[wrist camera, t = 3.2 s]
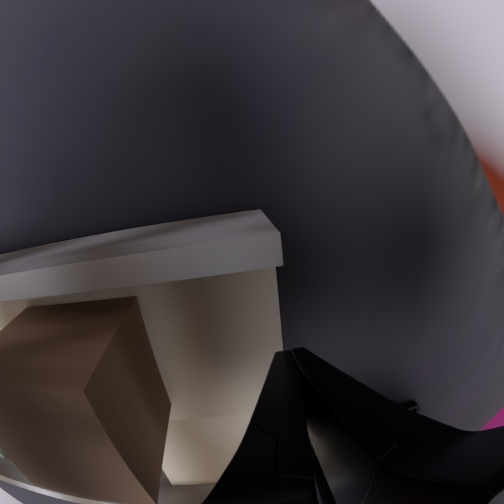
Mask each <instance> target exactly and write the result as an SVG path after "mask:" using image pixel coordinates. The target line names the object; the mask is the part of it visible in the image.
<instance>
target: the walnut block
mask: <svg viewBox="0 0 504 504" xmlns="http://www.w3.org/2000/svg"><path fill="white" fill-rule="evenodd" d="M171 405H172V404H171V402H170V399H169V396H168V394H167V391H166V388H165V386H164V383H163V380H162V377H161V374H160V371H159V368H158V365H157V362H156V359H155V356H154V353H153V350H152V347H151V344H150V341H149V337H148V334H147V331H146V327H145V324H144V320H143V317H142V313H141V310H140V306H139V303H138V299H137V296H129V297H120V298H111V299H102V300H93V301H83V302H74V303H64V304H54V305H43V306H32V307H26V308H25V309H24V310H23V311H22V312H21V313H20V314H19V315H17V316H16V317H15V318H14V319H13V320H12V321H11V322H10V323H9V324H7V325H6V326H5V327H4V328H3V329H2V330H1V331H0V447H1V448H2V450H3V451H4V452H5V453H6V455H7V456H8V457H9V458H10V459H11V461H12V462H13V463H14V464H15V465H16V466H17V468H18V469H19V470H20V471H21V472H22V473H23V474H24V475H25V477H26V478H27V479H28V480H29V481H30V482H31V483H32V484H33V485H36V486H39V487H43V488H47V489H50V490H54V491H58V492H63V493H67V494H72V495H76V496H81V497H87V498H92V499H98V500H105V501H112V502H120V503H129V504H158V495H159V487H160V479H161V471H162V464H163V457H164V450H165V443H166V436H167V430H168V423H169V417H170V411H171Z"/></svg>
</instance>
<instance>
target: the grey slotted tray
mask: <svg viewBox="0 0 504 504" xmlns="http://www.w3.org/2000/svg"><path fill="white" fill-rule="evenodd" d="M277 266H283V256H282V245H281V235H280V232H279V231H278V230H277V229H276V227H275V226H274V225H273V224H272V223H271V221H270V220H269V219H268V218H267V217H266V216H265V214H264V213H263V212H262V211H261V210H260V209H259V210H251V211H244V212H236V213H229V214H222V215H215V216H208V217H201V218H194V219H187V220H181V221H174V222H168V223H162V224H156V225H149V226H143V227H137V228H132V229H126V230H120V231H114V232H109V233H103V234H98V235H92V236H87V237H81V238H76V239H71V240H66V241H61V242H56V243H51V244H46V245H41V246H36V247H31V248H27V249H22V250H17V251H13V252H8V253H4V254H0V331H1V330H2V329H3V328H4V327H5V326H6V325H7V324H9V323H10V322H11V321H12V320H13V319H14V318H15V317H16V316H17V315H19V314H20V313H21V312H22V311H23V310H24V309H25V308H26V307H32V306H43V305H54V304H64V303H74V302H83V301H93V300H102V299H111V298H120V297H129V296H137V299H138V303H139V306H140V310H141V313H142V317H143V320H144V324H145V327H146V331H147V334H148V337H149V341H150V344H151V347H152V350H153V353H154V356H155V359H156V362H157V365H158V368H159V371H160V374H161V377H162V380H163V383H164V386H165V388H166V391H167V394H168V396H169V399H170V402H171V404H172V405H171V411H170V417H169V423H168V430H167V436H166V443H165V450H164V457H163V464H162V471H161V479H160V487H159V495H158V504H201V503H202V502H203V501H204V500H205V499H206V497H207V496H208V495H209V493H210V492H211V490H212V489H213V487H214V486H215V484H216V483H217V481H218V480H219V478H220V477H221V475H222V474H223V472H224V470H225V469H226V467H227V466H228V464H229V463H230V461H231V459H232V458H233V456H234V454H235V452H236V451H237V449H238V447H239V445H240V443H241V441H242V438H243V436H244V434H245V432H246V429H247V426H248V424H249V422H250V419H251V416H252V414H253V411H254V409H255V406H256V403H257V401H258V398H259V395H260V392H261V390H262V387H263V384H264V382H265V379H266V376H267V373H268V370H269V368H270V365H271V362H272V359H273V356H274V354H275V352H277V351H282V350H283V342H282V331H281V320H280V309H279V298H278V288H277V278H276V267H277ZM0 480H2V481H5V482H8V483H10V484H13V485H16V486H19V487H22V488H25V489H28V490H31V491H34V492H37V493H41V494H44V495H48V496H51V497H55V498H59V499H63V500H67V501H72V502H76V503H81V504H129V503H120V502H112V501H105V500H98V499H92V498H87V497H81V496H76V495H72V494H67V493H63V492H58V491H54V490H50V489H47V488H43V487H39V486H36V485H33V484H32V483H31V482H30V481H29V480H28V479H27V478H26V477H25V475H24V474H23V473H22V472H21V471H20V470H19V469H18V468H17V466H16V465H15V464H14V463H13V462H12V461H11V459H10V458H9V457H8V456H7V455H6V453H5V452H4V451H3V450H2V448H1V447H0Z"/></svg>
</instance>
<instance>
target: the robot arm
mask: <svg viewBox="0 0 504 504" xmlns="http://www.w3.org/2000/svg"><path fill="white" fill-rule="evenodd" d="M419 410H420V406H419V405H418V404H417V402H410V403H408V404H405V405H402V406H401V405H399V404H398V403H396V402H394V401H392V400H390V399H388V398H387V397H385V396H383V395H381V394H380V395H379V393H378V392H376V391H374V390H373V389H371V388H369V387H368V386H366V385H364V384H363V383H361V382H359V381H357V380H356V379H354V378H352V377H351V376H349V375H348V374H346V373H344V372H343V371H341V370H339V369H338V368H336V367H334V366H333V365H331V364H330V363H328V362H326V361H325V360H323V359H321V358H320V357H318V356H317V355H315V354H313V353H312V352H310V351H309V350H307V349H306V348H304V347H299V348H294V349H290V351H289V350H282V351H277V352H275V354H274V356H273V359H272V362H271V365H270V368H269V370H268V373H267V376H266V379H265V382H264V384H263V387H262V390H261V392H260V395H259V398H258V401H257V403H256V406H255V409H254V411H253V414H252V416H251V419H250V422H249V424H248V426H247V429H246V432H245V434H244V436H243V438H242V441H241V443H240V445H239V447H238V449H237V451H236V452H235V454H234V456H233V458H232V459H231V461H230V463H229V464H228V466H227V467H226V469H225V470H224V472H223V474H222V475H221V477H220V478H219V480H218V481H217V483H216V484H215V486H214V487H213V489H212V490H211V492H210V493H209V495H208V496H207V497H206V499H205V500H204V501H203V502H202V503H201V504H504V426H501V427H497V428H493V429H488V430H483V431H465V430H461V429H457V428H454V427H452V426H449V425H446V424H444V423H441V422H439V421H436V420H434V419H431V418H429V417H426V416H424V415H421V414H419ZM309 438H310V441H311V443H312V446H313V448H314V450H315V456H313V457H311V449H310V442H309Z"/></svg>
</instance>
